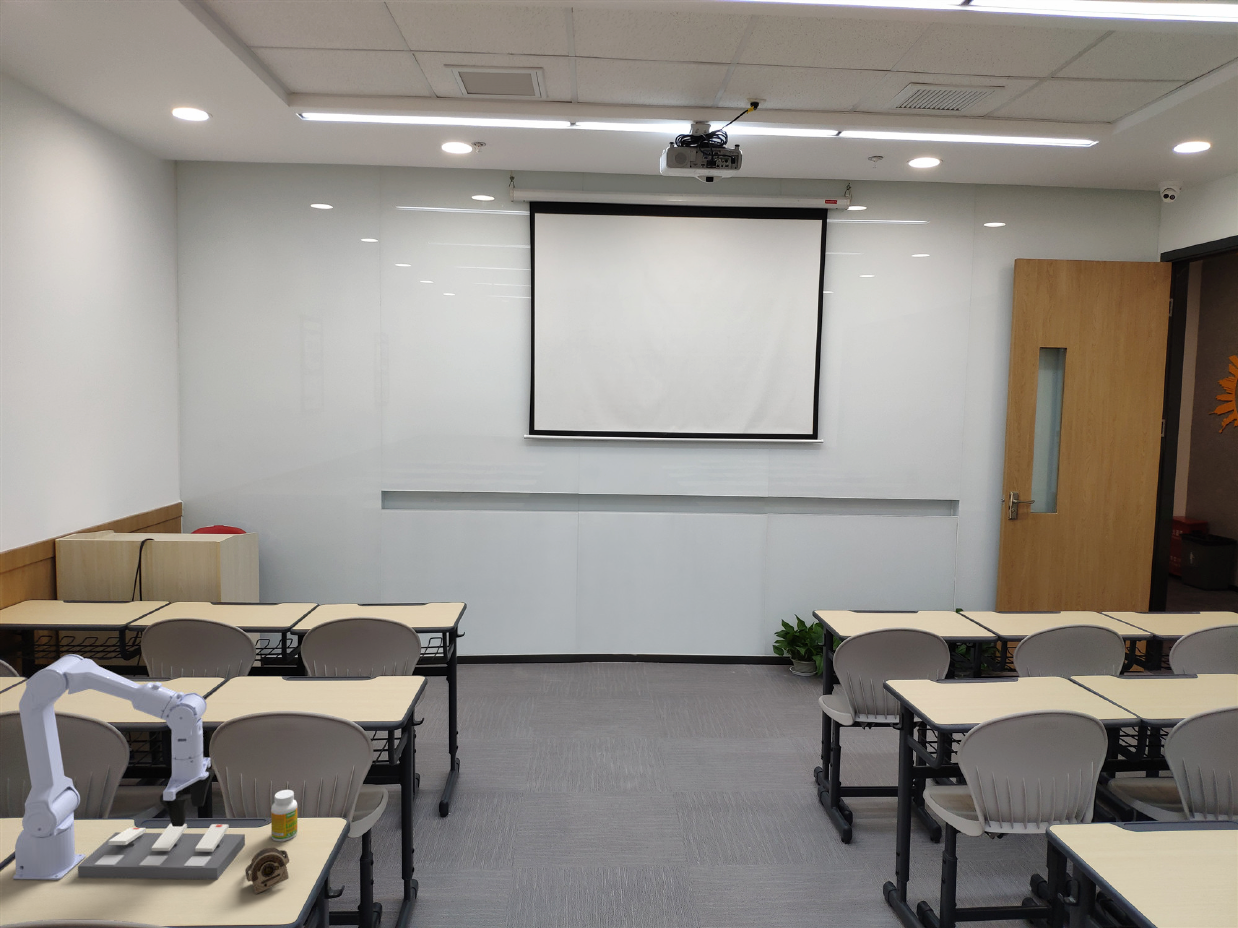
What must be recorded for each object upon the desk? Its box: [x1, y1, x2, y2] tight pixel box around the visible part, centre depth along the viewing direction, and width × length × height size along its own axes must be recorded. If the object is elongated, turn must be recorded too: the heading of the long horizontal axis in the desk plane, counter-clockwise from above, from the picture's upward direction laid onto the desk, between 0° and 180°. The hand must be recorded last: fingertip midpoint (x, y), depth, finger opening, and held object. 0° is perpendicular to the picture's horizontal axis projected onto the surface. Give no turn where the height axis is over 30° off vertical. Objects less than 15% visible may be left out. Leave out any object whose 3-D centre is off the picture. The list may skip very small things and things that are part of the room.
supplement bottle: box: [270, 789, 298, 842], centre depth 170 cm, size 5×5×10 cm
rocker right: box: [195, 823, 230, 852], centre depth 162 cm, size 4×7×1 cm, turn 2°
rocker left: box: [108, 827, 147, 845], centre depth 161 cm, size 4×7×1 cm, turn 1°
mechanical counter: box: [244, 846, 290, 895], centre depth 156 cm, size 7×13×10 cm
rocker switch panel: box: [77, 831, 246, 881], centre depth 160 cm, size 28×12×3 cm, turn 92°
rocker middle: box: [152, 823, 188, 851], centre depth 162 cm, size 4×7×1 cm, turn 1°
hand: (188, 815), depth 160 cm, fingers open, 7 cm apart
